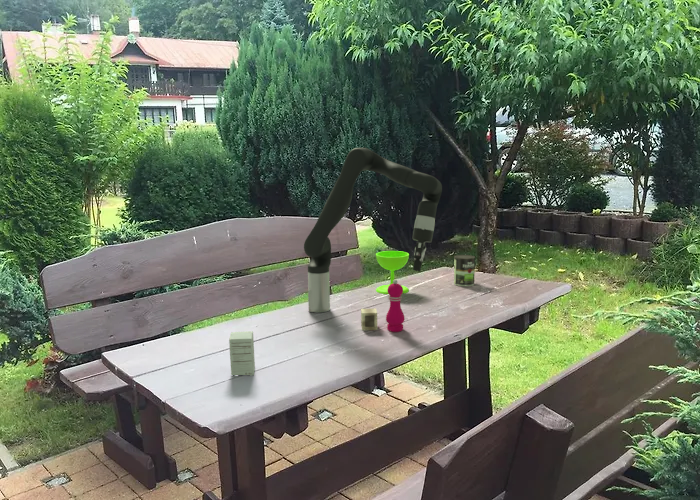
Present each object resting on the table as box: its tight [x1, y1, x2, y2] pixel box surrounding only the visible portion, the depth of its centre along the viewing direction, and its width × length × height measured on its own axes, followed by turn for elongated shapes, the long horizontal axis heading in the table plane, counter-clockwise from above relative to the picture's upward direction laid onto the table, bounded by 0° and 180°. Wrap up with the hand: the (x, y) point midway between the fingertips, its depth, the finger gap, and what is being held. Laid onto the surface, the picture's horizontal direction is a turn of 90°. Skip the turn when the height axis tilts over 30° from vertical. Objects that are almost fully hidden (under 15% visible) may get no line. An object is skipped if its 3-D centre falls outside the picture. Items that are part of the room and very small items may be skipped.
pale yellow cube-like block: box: [360, 308, 378, 331], centre depth 243 cm, size 6×6×7 cm
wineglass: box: [375, 250, 410, 295], centre depth 297 cm, size 16×16×18 cm
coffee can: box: [453, 254, 476, 287], centre depth 308 cm, size 10×10×14 cm
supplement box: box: [228, 330, 256, 376], centre depth 200 cm, size 7×7×13 cm
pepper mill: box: [385, 279, 406, 333], centre depth 239 cm, size 7×7×20 cm
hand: (416, 270), depth 234 cm, fingers open, 8 cm apart
